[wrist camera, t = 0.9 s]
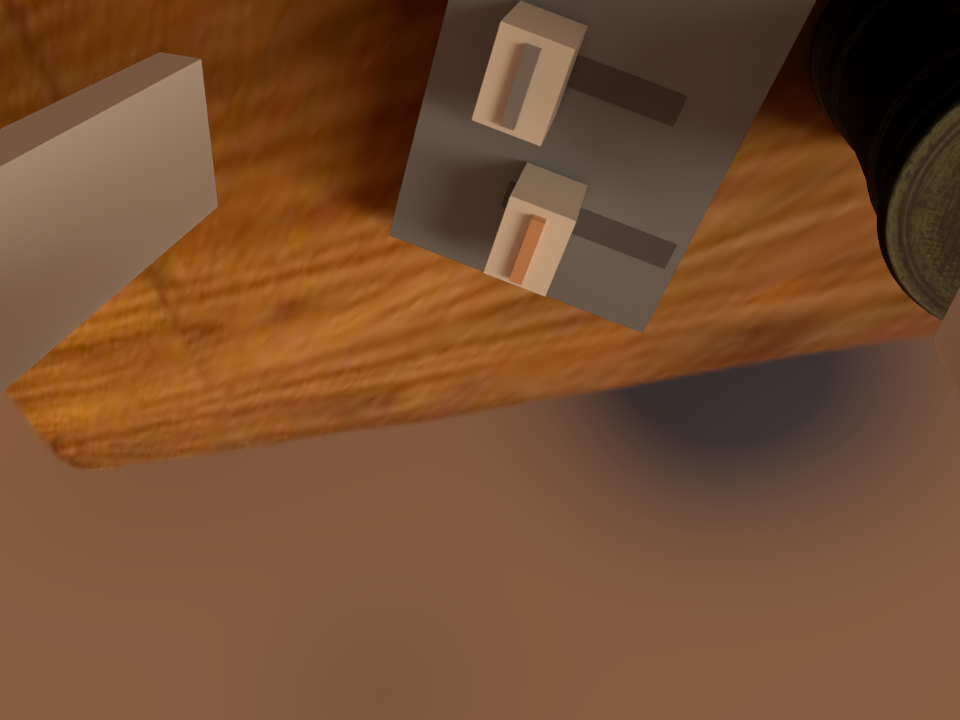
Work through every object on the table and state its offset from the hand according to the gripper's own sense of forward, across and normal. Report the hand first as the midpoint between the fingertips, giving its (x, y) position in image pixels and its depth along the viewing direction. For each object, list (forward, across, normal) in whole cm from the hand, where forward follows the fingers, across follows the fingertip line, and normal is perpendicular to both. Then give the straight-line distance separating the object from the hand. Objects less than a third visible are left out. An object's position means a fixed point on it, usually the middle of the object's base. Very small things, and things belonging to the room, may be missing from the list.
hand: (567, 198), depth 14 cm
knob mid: (+23, -4, -4) cm, 23 cm away
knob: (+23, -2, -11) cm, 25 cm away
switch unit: (+28, -1, -5) cm, 29 cm away
